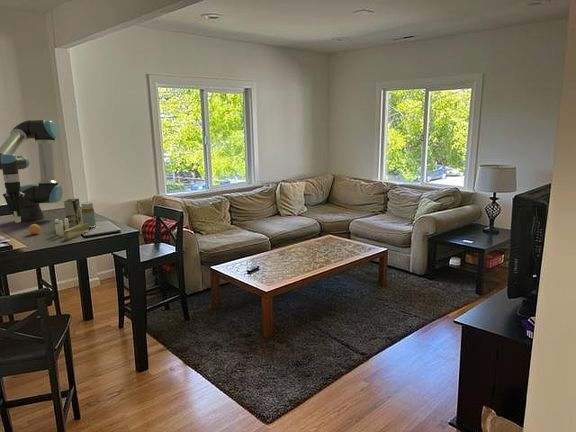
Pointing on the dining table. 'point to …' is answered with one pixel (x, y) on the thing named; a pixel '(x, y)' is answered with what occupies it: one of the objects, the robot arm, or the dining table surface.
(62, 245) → the dining table surface
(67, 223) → the pin
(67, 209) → the coffee box
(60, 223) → the pin
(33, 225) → the ball
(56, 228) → the pin front
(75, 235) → the back rail
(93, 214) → the bottle
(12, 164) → the robot arm
